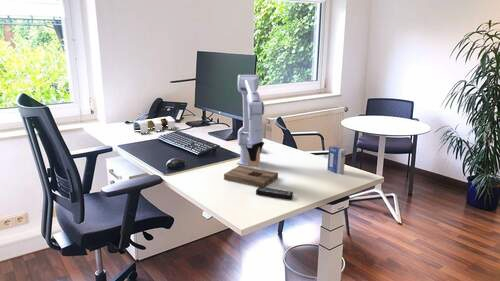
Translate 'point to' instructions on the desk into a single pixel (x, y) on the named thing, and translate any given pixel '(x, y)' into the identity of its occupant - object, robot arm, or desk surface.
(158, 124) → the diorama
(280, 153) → the desk surface
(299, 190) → the desk surface
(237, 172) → the pin plate
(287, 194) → the multiport hub
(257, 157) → the pin
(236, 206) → the desk surface
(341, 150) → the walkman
